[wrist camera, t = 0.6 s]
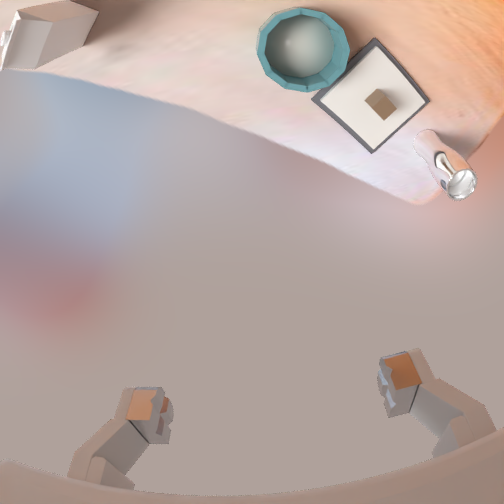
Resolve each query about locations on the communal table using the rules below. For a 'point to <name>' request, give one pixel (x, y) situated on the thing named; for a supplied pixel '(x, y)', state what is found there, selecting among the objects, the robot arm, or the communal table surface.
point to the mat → (349, 66)
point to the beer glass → (446, 165)
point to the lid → (373, 98)
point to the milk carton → (45, 33)
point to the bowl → (302, 49)
